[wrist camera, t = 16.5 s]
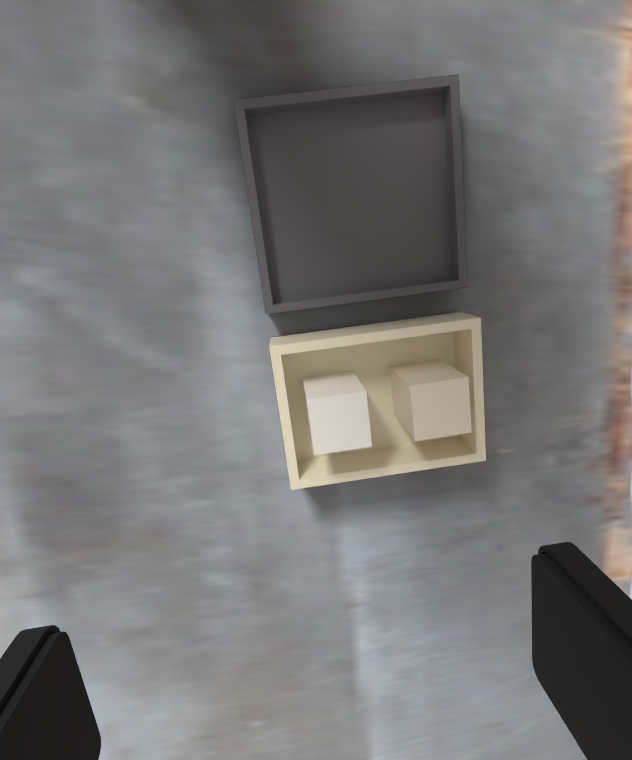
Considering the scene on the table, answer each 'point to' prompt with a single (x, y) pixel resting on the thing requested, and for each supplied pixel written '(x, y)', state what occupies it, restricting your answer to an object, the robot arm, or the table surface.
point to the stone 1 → (337, 412)
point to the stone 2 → (431, 399)
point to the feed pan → (355, 192)
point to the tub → (377, 395)
